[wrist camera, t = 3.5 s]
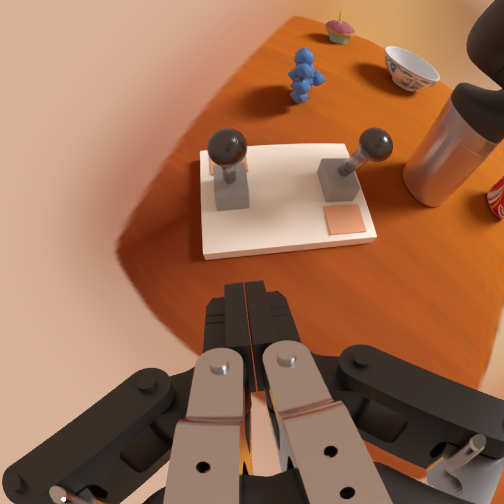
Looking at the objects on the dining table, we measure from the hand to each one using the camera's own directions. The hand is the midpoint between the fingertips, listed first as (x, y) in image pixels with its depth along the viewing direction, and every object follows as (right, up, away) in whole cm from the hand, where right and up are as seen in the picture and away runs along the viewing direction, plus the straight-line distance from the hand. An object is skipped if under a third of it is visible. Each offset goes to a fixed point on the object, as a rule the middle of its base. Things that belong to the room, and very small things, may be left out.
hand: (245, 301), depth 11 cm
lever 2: (+12, +12, +21) cm, 27 cm away
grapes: (+10, +30, +34) cm, 47 cm away
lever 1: (-2, +11, +21) cm, 24 cm away
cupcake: (+25, +63, +47) cm, 83 cm away
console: (+5, +10, +26) cm, 28 cm away
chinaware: (+39, +45, +40) cm, 72 cm away
